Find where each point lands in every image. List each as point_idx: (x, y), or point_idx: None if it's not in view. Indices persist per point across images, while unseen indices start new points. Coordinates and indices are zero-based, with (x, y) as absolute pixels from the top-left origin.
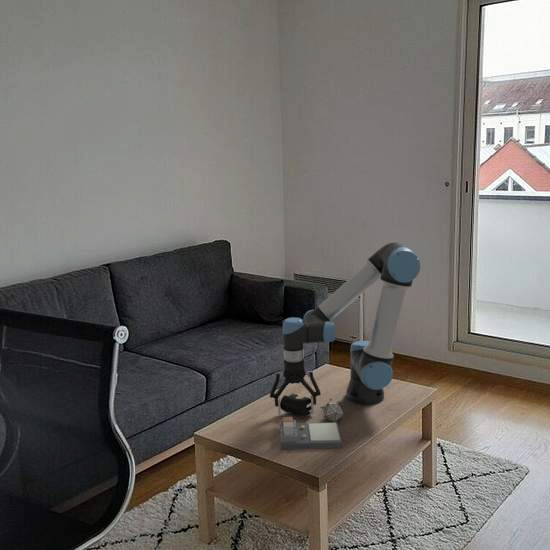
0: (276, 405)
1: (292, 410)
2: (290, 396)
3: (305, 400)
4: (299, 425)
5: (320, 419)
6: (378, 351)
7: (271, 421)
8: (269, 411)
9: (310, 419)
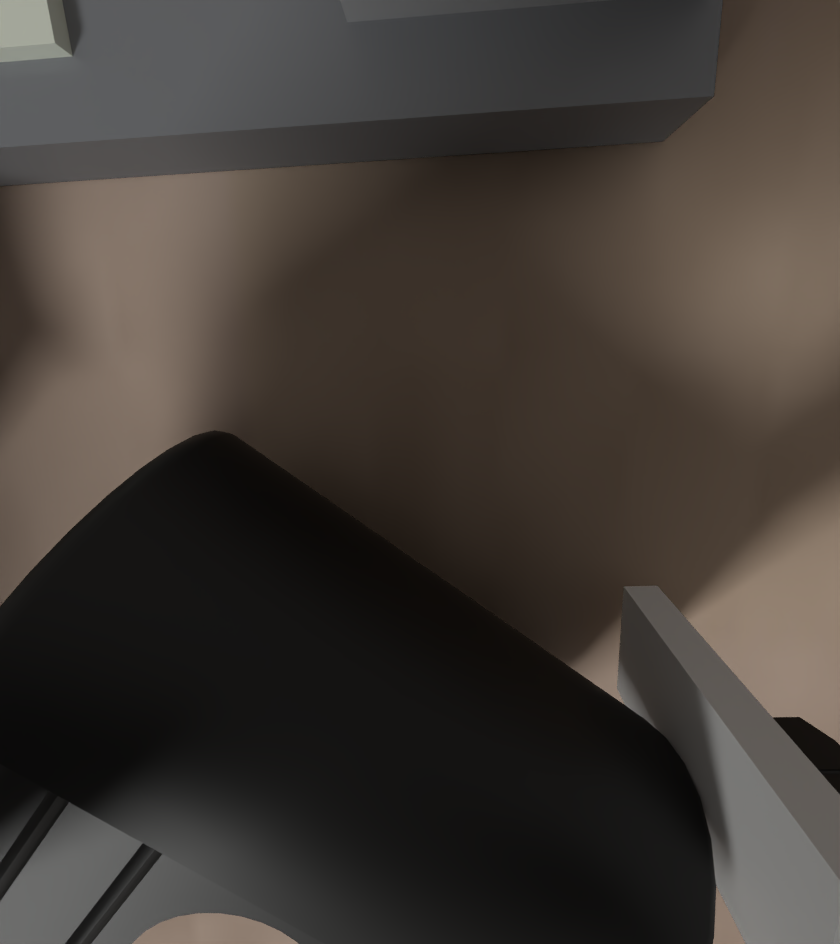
0: (798, 735)
1: (415, 562)
2: None
3: (6, 799)
4: (263, 5)
5: (15, 496)
6: None
7: (770, 454)
8: None
9: None
